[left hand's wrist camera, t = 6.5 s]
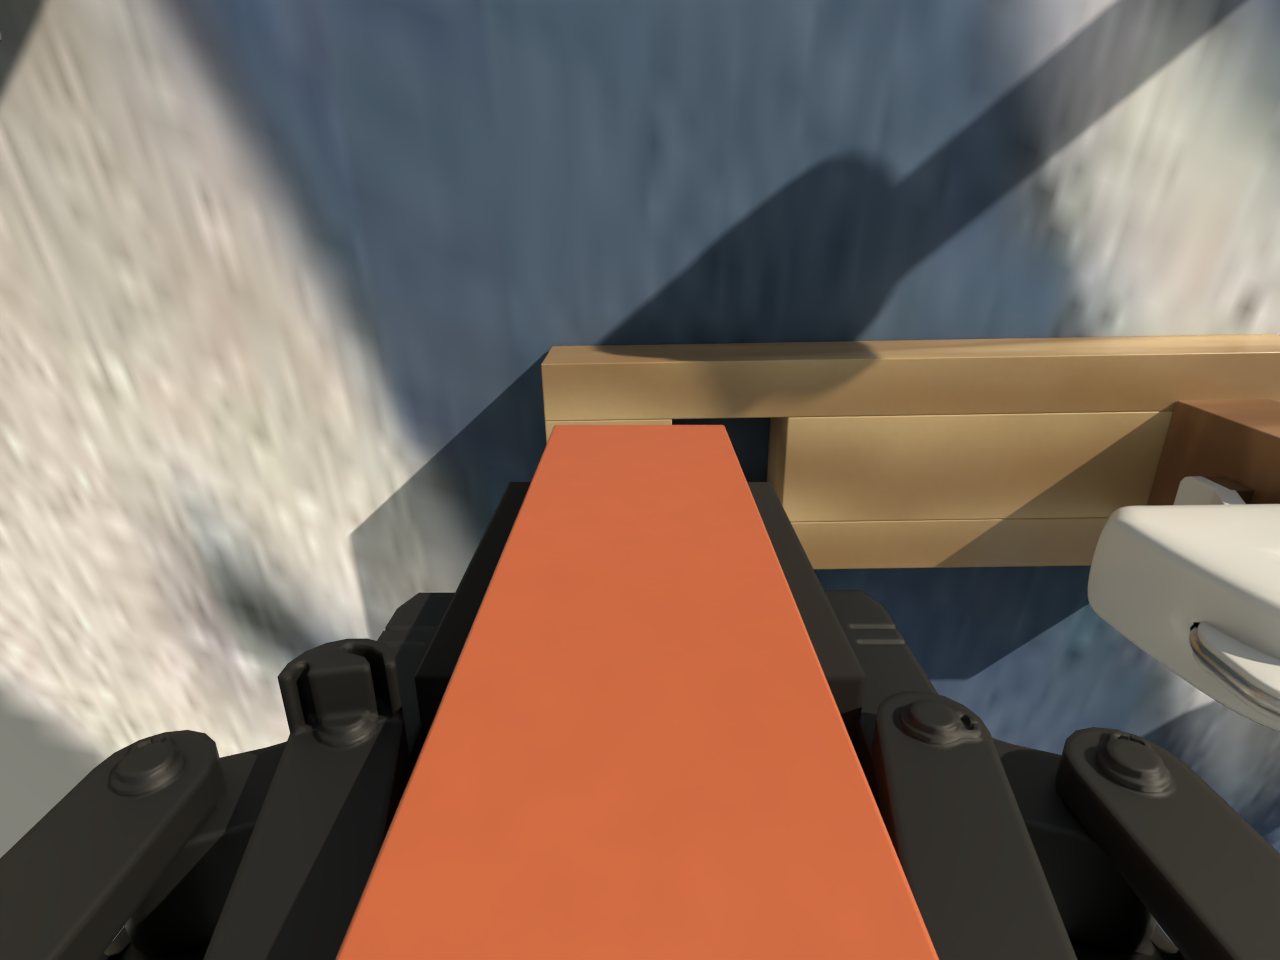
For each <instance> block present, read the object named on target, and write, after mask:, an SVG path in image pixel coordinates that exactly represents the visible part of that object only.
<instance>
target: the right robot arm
mask: <svg viewBox="0 0 1280 960" xmlns="http://www.w3.org/2000/svg"><path fill="white" fill-rule="evenodd" d="M1254 491H1255V490H1254V489H1252V488H1250V487H1248V486H1245V485H1243V484H1241V483H1238V482H1234V481H1233V480H1232V479H1230V478H1228V477H1201V476H1192V477H1185V478H1183V479H1182V480H1181V481H1180V484H1179V488H1178V491H1177V494H1176V498H1175V501H1174V504H1173V505H1164V506H1126V507H1121V508H1118V509H1117V510H1115V511H1113V513H1112V514H1111V515H1110V517H1109V518H1108V520H1107V522H1106V524H1105V526H1104V528H1103V530H1102V532H1101V535H1100V537H1099V540H1098V543H1097V546H1096V549H1095V552H1094V556H1093V560H1092V564H1091V569H1090V574H1089V580H1088V600H1089V603H1090V605H1091V607H1092V608H1093V610H1094V611H1095V612H1096V613H1097V614H1098V615H1099V616H1100V617H1101V618H1102V619H1103V620H1104V621H1106V622H1107V623H1108V624H1109V625H1111V626H1112V627H1113V628H1114V629H1116V630H1117V631H1118V632H1119V633H1121V634H1122V635H1123V636H1125V637H1126V638H1127V639H1129V640H1130V641H1131V642H1133V643H1134V644H1135V645H1137V646H1138V647H1139V648H1140V649H1142V650H1143V651H1144V652H1146V653H1147V654H1149V655H1150V656H1151V657H1153V658H1154V659H1156V660H1157V661H1158V662H1160V663H1161V664H1163V665H1164V666H1165V667H1167V668H1168V669H1170V670H1171V671H1172V672H1174V673H1175V674H1177V675H1178V676H1180V677H1181V678H1183V679H1184V680H1185V681H1187V682H1188V683H1190V684H1191V685H1193V686H1194V687H1196V688H1197V689H1199V690H1200V691H1202V692H1203V693H1205V694H1206V695H1208V696H1209V697H1211V698H1213V699H1214V700H1216V701H1217V702H1219V703H1221V704H1222V705H1224V706H1226V707H1228V708H1229V709H1231V710H1233V711H1235V712H1236V713H1238V714H1240V715H1242V716H1244V717H1246V718H1248V719H1250V720H1252V721H1254V722H1256V723H1259V724H1261V725H1264V726H1266V727H1269V728H1271V729H1274V730H1277V731H1280V504H1250V503H1251V500H1252V497H1253V494H1254Z"/></svg>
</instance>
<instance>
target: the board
mask: <svg viewBox="0 0 1280 960" xmlns="http://www.w3.org/2000/svg"><path fill="white" fill-rule="evenodd" d="M541 373H542V387H543V401H544V415H545V429H546V444H547V442H548V440H549V437H550V435H551V432H552V430H553V428H554V426H555V425H672V419H706V418H769V417H770V434H769V452H768V470H767V482H771V483H772V485H773V488H774V490H775V492H776V494H777V496H778V498H779V500H780V502H781V504H782V506H783V508H784V510H785V512H786V514H787V516H788V518H789V520H790V522H791V524H792V526H793V528H794V530H795V532H796V534H797V536H798V539H799V541H800V543H801V545H802V547H803V549H804V551H805V553H806V555H807V557H808V559H809V561H810V563H811V565H812V567H813V569H881V568H950V567H1019V566H1087V565H1091V564H1092V560H1093V556H1094V552H1095V549H1096V546H1097V543H1098V540H1099V537H1100V535H1101V532H1102V530H1103V528H1104V526H1105V524H1106V522H1107V520H1108V518H1109V517H1110V515H1111V514H1112V513H1113V511H1115V510H1117V509H1118V508H1121V507H1126V506H1164V505H1173V504H1174V501H1175V498H1176V494H1177V491H1178V488H1179V484H1180V481H1181V480H1182V479H1183V478H1185V477H1192V476H1201V477H1228V478H1230V479H1232V480H1233V481H1234V482H1238V483H1241V484H1243V485H1245V486H1248V487H1250V488H1252V489H1254V490H1255V491H1254V494H1253V497H1252V500H1251V503H1250V504H1280V335H1276V334H1261V335H1201V336H1141V337H1081V338H1021V339H961V340H901V341H841V342H781V343H721V344H661V345H601V346H553V347H552V348H551V349H550V351H549V353H548V354H547V356H546V357H545V359H544V361H543V362H542V364H541Z"/></svg>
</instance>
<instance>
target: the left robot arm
mask: <svg viewBox="0 0 1280 960" xmlns="http://www.w3.org/2000/svg"><path fill="white" fill-rule="evenodd" d="M747 483H748V486H749V488H750V491H751V493H752V496H753V498H754V501H755V503H756V506H757V508H758V511H759V513H760V516H761V518H762V521H763V523H764V526H765V528H766V531H767V533H768V536H769V538H770V541H771V543H772V546H773V548H774V551H775V553H776V556H777V558H778V561H779V563H780V565H781V568H782V570H783V573H784V575H785V578H786V580H787V583H788V585H789V588H790V590H791V593H792V595H793V598H794V600H795V603H796V605H797V608H798V610H799V613H800V615H801V618H802V620H803V623H804V625H805V628H806V630H807V633H808V635H809V638H810V640H811V643H812V645H813V648H814V650H815V653H816V655H817V658H818V660H819V662H820V665H821V667H822V670H823V672H824V675H825V677H826V680H827V682H828V685H829V687H830V690H831V692H832V695H833V697H834V700H835V702H836V705H837V707H838V710H839V712H840V715H841V717H842V720H843V722H844V725H845V727H846V730H847V732H848V735H849V737H850V740H851V742H852V745H853V747H854V750H855V752H856V755H857V757H858V759H859V762H860V764H861V767H862V769H863V772H864V774H865V777H866V779H867V782H868V784H869V787H870V789H871V792H872V794H873V797H874V799H875V802H876V804H877V807H878V809H879V812H880V814H881V817H882V819H883V822H884V824H885V827H886V829H887V832H888V834H889V837H890V839H891V842H892V844H893V847H894V849H895V851H896V854H897V856H898V859H899V861H900V864H901V866H902V869H903V871H904V874H905V876H906V879H907V881H908V884H909V886H910V889H911V891H912V894H913V896H914V899H915V901H916V904H917V906H918V909H919V911H920V914H921V916H922V919H923V921H924V924H925V926H926V929H927V931H928V934H929V936H930V939H931V941H932V944H933V946H934V948H935V951H936V953H937V956H938V958H939V960H1280V853H1279V852H1278V851H1277V850H1276V849H1275V848H1274V847H1273V846H1271V845H1270V844H1269V843H1268V842H1267V841H1266V840H1265V839H1264V838H1263V837H1262V836H1261V835H1260V834H1259V833H1258V832H1257V831H1256V830H1255V829H1254V828H1253V827H1252V826H1251V825H1249V824H1248V823H1247V822H1246V821H1245V820H1244V819H1243V818H1242V817H1241V816H1240V815H1239V814H1238V813H1237V812H1236V811H1235V810H1234V809H1233V808H1232V807H1231V806H1230V805H1229V804H1227V803H1226V802H1225V801H1224V800H1223V799H1222V798H1221V797H1220V796H1219V795H1218V794H1217V793H1216V792H1215V791H1214V790H1213V789H1212V788H1211V787H1210V786H1209V785H1208V784H1207V783H1206V782H1204V781H1203V780H1202V779H1201V778H1200V777H1199V776H1198V775H1197V774H1196V773H1195V772H1194V771H1193V770H1192V769H1191V768H1190V767H1189V766H1188V765H1186V764H1185V763H1184V762H1182V761H1181V760H1180V759H1178V758H1177V757H1176V756H1174V755H1173V754H1172V753H1170V752H1169V751H1168V750H1166V749H1164V748H1162V747H1160V746H1158V745H1156V744H1154V743H1152V742H1150V741H1148V740H1146V739H1144V738H1142V737H1139V736H1136V735H1134V734H1129V733H1127V732H1123V731H1120V730H1116V729H1106V728H1096V727H1092V728H1087V729H1082V730H1077V731H1075V732H1074V733H1073V734H1072V735H1071V736H1069V737H1068V738H1067V739H1066V742H1065V745H1064V749H1063V752H1062V755H1058V754H1054V753H1049V752H1045V751H1040V750H1035V749H1031V748H1026V747H1022V746H1017V745H1013V744H1010V743H1006V742H1003V741H999V740H996V739H994V738H992V737H991V734H990V732H989V731H988V729H987V728H986V726H985V725H984V723H983V722H982V720H981V719H980V718H979V717H978V716H977V715H976V714H974V713H973V712H972V711H970V710H969V709H968V708H967V707H965V706H964V705H962V704H960V703H958V702H955V701H953V700H951V699H949V698H947V697H945V696H941V695H938V693H937V691H936V690H935V688H934V687H933V685H932V683H931V682H930V680H929V679H928V677H927V675H926V674H925V672H924V671H923V669H922V667H921V666H920V664H919V662H918V661H917V659H916V658H915V656H914V654H913V653H912V651H911V650H910V648H909V646H908V645H905V640H904V638H903V637H902V635H901V634H900V632H899V630H898V629H895V624H894V622H893V621H892V619H891V618H890V616H889V614H888V613H887V611H886V610H885V608H884V607H883V606H882V605H881V604H879V603H878V602H877V601H875V600H874V599H872V598H871V597H870V596H868V595H867V594H866V593H864V592H863V591H824V590H823V587H822V585H821V583H820V581H819V579H818V577H817V575H816V573H815V571H814V569H813V567H812V565H811V563H810V561H809V559H808V557H807V555H806V553H805V551H804V549H803V547H802V545H801V543H800V541H799V539H798V536H797V534H796V532H795V530H794V528H793V526H792V524H791V522H790V520H789V518H788V516H787V514H786V512H785V510H784V508H783V506H782V504H781V502H780V500H779V498H778V496H777V494H776V492H775V490H774V488H773V485H772V483H771V482H747ZM530 484H531V482H509V484H508V486H507V488H506V490H505V493H504V495H503V497H502V499H501V501H500V503H499V505H498V507H497V509H496V511H495V513H494V515H493V517H492V519H491V521H490V523H489V525H488V527H487V529H486V531H485V533H484V535H483V537H482V539H481V542H480V544H479V546H478V548H477V550H476V552H475V554H474V556H473V558H472V560H471V562H470V564H469V566H468V568H467V570H466V572H465V574H464V576H463V578H462V580H461V582H460V584H459V586H458V588H457V590H456V593H418V594H417V595H415V596H414V597H413V598H411V599H410V600H408V601H407V602H406V603H404V604H403V605H402V606H400V607H399V608H398V609H397V610H396V611H395V613H394V615H393V616H392V618H391V619H390V621H389V623H388V624H387V626H386V630H385V631H383V632H382V634H381V636H380V637H379V639H378V640H377V641H374V640H371V639H344V640H339V641H335V642H330V643H325V644H323V645H320V646H318V647H316V648H313V649H311V650H308V651H306V652H304V653H303V654H301V655H300V656H298V657H297V658H295V659H294V660H292V661H291V662H289V663H288V664H287V665H286V667H285V668H284V669H283V670H282V672H281V673H280V674H279V676H278V681H279V686H280V690H281V694H282V699H283V703H284V708H285V712H286V716H287V721H288V725H289V730H290V735H289V738H288V741H287V742H284V743H280V744H277V745H274V746H270V747H267V748H262V749H258V750H253V751H249V752H244V753H240V754H235V755H231V756H226V757H222V758H219V754H218V750H217V747H216V743H215V742H214V741H213V740H212V739H211V738H210V737H209V736H208V735H206V734H205V733H200V732H195V731H190V730H183V731H173V732H164V733H161V734H158V735H154V736H151V737H148V738H145V739H142V740H139V741H137V742H135V743H133V744H131V745H129V746H127V747H125V748H123V749H121V750H119V751H117V752H115V753H114V754H112V755H111V756H110V757H108V758H107V759H106V760H104V761H103V762H102V763H101V764H99V765H98V766H97V767H95V768H94V769H93V770H92V771H91V772H90V773H89V774H88V775H87V776H86V777H85V778H84V779H83V780H81V781H80V782H79V783H78V784H77V785H76V786H75V787H74V788H73V789H72V790H71V791H70V792H69V793H68V794H67V795H66V796H65V797H64V798H63V799H62V800H61V801H60V802H59V803H58V804H57V805H56V806H54V807H53V808H52V809H51V810H50V811H49V812H48V813H47V814H46V815H45V816H44V817H43V818H42V819H41V820H40V821H39V822H38V823H37V824H36V825H35V826H34V827H33V828H32V829H31V830H30V831H28V832H27V833H26V834H25V835H24V836H23V837H22V838H21V839H20V840H19V841H18V842H17V843H16V844H15V845H14V846H13V847H12V848H11V849H10V850H9V851H8V852H7V853H6V854H5V855H3V856H2V857H1V858H0V960H335V959H336V956H337V954H338V952H339V949H340V947H341V944H342V942H343V939H344V937H345V934H346V932H347V930H348V927H349V925H350V922H351V920H352V917H353V915H354V913H355V910H356V908H357V905H358V903H359V900H360V898H361V896H362V893H363V891H364V888H365V886H366V883H367V881H368V878H369V876H370V874H371V871H372V869H373V866H374V864H375V861H376V859H377V857H378V854H379V852H380V849H381V847H382V844H383V842H384V839H385V837H386V835H387V832H388V830H389V827H390V825H391V822H392V820H393V818H394V815H395V813H396V810H397V808H398V805H399V803H400V800H401V798H402V796H403V793H404V791H405V788H406V786H407V783H408V781H409V779H410V776H411V774H412V771H413V769H414V766H415V764H416V761H417V759H418V757H419V754H420V752H421V749H422V747H423V744H424V742H425V740H426V737H427V735H428V732H429V730H430V727H431V725H432V722H433V720H434V718H435V715H436V713H437V710H438V708H439V705H440V703H441V701H442V698H443V696H444V693H445V691H446V688H447V686H448V683H449V681H450V679H451V676H452V674H453V671H454V669H455V666H456V664H457V662H458V659H459V657H460V654H461V652H462V649H463V647H464V644H465V642H466V640H467V637H468V635H469V632H470V630H471V627H472V625H473V623H474V620H475V618H476V615H477V613H478V610H479V608H480V605H481V603H482V601H483V598H484V596H485V593H486V591H487V588H488V586H489V584H490V581H491V579H492V576H493V574H494V571H495V569H496V566H497V564H498V562H499V559H500V557H501V554H502V552H503V549H504V547H505V545H506V542H507V540H508V537H509V535H510V532H511V530H512V527H513V525H514V523H515V520H516V518H517V515H518V513H519V510H520V508H521V506H522V503H523V501H524V498H525V496H526V493H527V491H528V488H529V486H530ZM1157 922H1158V924H1159V925H1160V926H1161V927H1162V929H1163V930H1164V931H1165V933H1166V934H1167V935H1168V937H1169V938H1170V939H1171V940H1172V942H1173V943H1174V944H1175V945H1174V944H1173V943H1172V942H1171V941H1170V940H1169V939H1168V937H1167V936H1166V935H1165V934H1164V932H1163V931H1162V930H1161V928H1160V927H1159V926H1158V924H1157ZM123 926H124V928H123ZM122 928H123V929H122ZM121 929H122V930H121ZM120 930H121V931H120ZM119 932H120V933H119ZM118 933H119V934H118ZM117 934H118V935H117ZM116 936H117V937H116ZM115 937H116V938H115ZM114 938H115V939H114Z"/></svg>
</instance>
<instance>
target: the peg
mask: <svg viewBox="0 0 1280 960" xmlns="http://www.w3.org/2000/svg"><path fill="white" fill-rule="evenodd" d="M335 960H939V958H938V956H937V953H936V951H935V948H934V946H933V944H932V941H931V939H930V936H929V934H928V931H927V929H926V926H925V924H924V921H923V919H922V916H921V914H920V911H919V909H918V906H917V904H916V901H915V899H914V896H913V894H912V891H911V889H910V886H909V884H908V881H907V879H906V876H905V874H904V871H903V869H902V866H901V864H900V861H899V859H898V856H897V854H896V851H895V849H894V847H893V844H892V842H891V839H890V837H889V834H888V832H887V829H886V827H885V824H884V822H883V819H882V817H881V814H880V812H879V809H878V807H877V804H876V802H875V799H874V797H873V794H872V792H871V789H870V787H869V784H868V782H867V779H866V777H865V774H864V772H863V769H862V767H861V764H860V762H859V759H858V757H857V755H856V752H855V750H854V747H853V745H852V742H851V740H850V737H849V735H848V732H847V730H846V727H845V725H844V722H843V720H842V717H841V715H840V712H839V710H838V707H837V705H836V702H835V700H834V697H833V695H832V692H831V690H830V687H829V685H828V682H827V680H826V677H825V675H824V672H823V670H822V667H821V665H820V662H819V660H818V658H817V655H816V653H815V650H814V648H813V645H812V643H811V640H810V638H809V635H808V633H807V630H806V628H805V625H804V623H803V620H802V618H801V615H800V613H799V610H798V608H797V605H796V603H795V600H794V598H793V595H792V593H791V590H790V588H789V585H788V583H787V580H786V578H785V575H784V573H783V570H782V568H781V565H780V563H779V561H778V558H777V556H776V553H775V551H774V548H773V546H772V543H771V541H770V538H769V536H768V533H767V531H766V528H765V526H764V523H763V521H762V518H761V516H760V513H759V511H758V508H757V506H756V503H755V501H754V498H753V496H752V493H751V491H750V488H749V486H748V483H747V481H746V478H745V476H744V473H743V471H742V469H741V466H740V464H739V461H738V459H737V456H736V454H735V451H734V449H733V446H732V444H731V441H730V439H729V436H728V434H727V431H726V429H725V426H724V425H555V426H554V428H553V430H552V432H551V435H550V437H549V440H548V442H547V445H546V447H545V449H544V452H543V454H542V457H541V459H540V462H539V464H538V467H537V469H536V471H535V474H534V476H533V479H532V481H531V484H530V486H529V488H528V491H527V493H526V496H525V498H524V501H523V503H522V506H521V508H520V510H519V513H518V515H517V518H516V520H515V523H514V525H513V527H512V530H511V532H510V535H509V537H508V540H507V542H506V545H505V547H504V549H503V552H502V554H501V557H500V559H499V562H498V564H497V566H496V569H495V571H494V574H493V576H492V579H491V581H490V584H489V586H488V588H487V591H486V593H485V596H484V598H483V601H482V603H481V605H480V608H479V610H478V613H477V615H476V618H475V620H474V623H473V625H472V627H471V630H470V632H469V635H468V637H467V640H466V642H465V644H464V647H463V649H462V652H461V654H460V657H459V659H458V662H457V664H456V666H455V669H454V671H453V674H452V676H451V679H450V681H449V683H448V686H447V688H446V691H445V693H444V696H443V698H442V701H441V703H440V705H439V708H438V710H437V713H436V715H435V718H434V720H433V722H432V725H431V727H430V730H429V732H428V735H427V737H426V740H425V742H424V744H423V747H422V749H421V752H420V754H419V757H418V759H417V761H416V764H415V766H414V769H413V771H412V774H411V776H410V779H409V781H408V783H407V786H406V788H405V791H404V793H403V796H402V798H401V800H400V803H399V805H398V808H397V810H396V813H395V815H394V818H393V820H392V822H391V825H390V827H389V830H388V832H387V835H386V837H385V839H384V842H383V844H382V847H381V849H380V852H379V854H378V857H377V859H376V861H375V864H374V866H373V869H372V871H371V874H370V876H369V878H368V881H367V883H366V886H365V888H364V891H363V893H362V896H361V898H360V900H359V903H358V905H357V908H356V910H355V913H354V915H353V917H352V920H351V922H350V925H349V927H348V930H347V932H346V934H345V937H344V939H343V942H342V944H341V947H340V949H339V952H338V954H337V956H336V959H335Z"/></svg>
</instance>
